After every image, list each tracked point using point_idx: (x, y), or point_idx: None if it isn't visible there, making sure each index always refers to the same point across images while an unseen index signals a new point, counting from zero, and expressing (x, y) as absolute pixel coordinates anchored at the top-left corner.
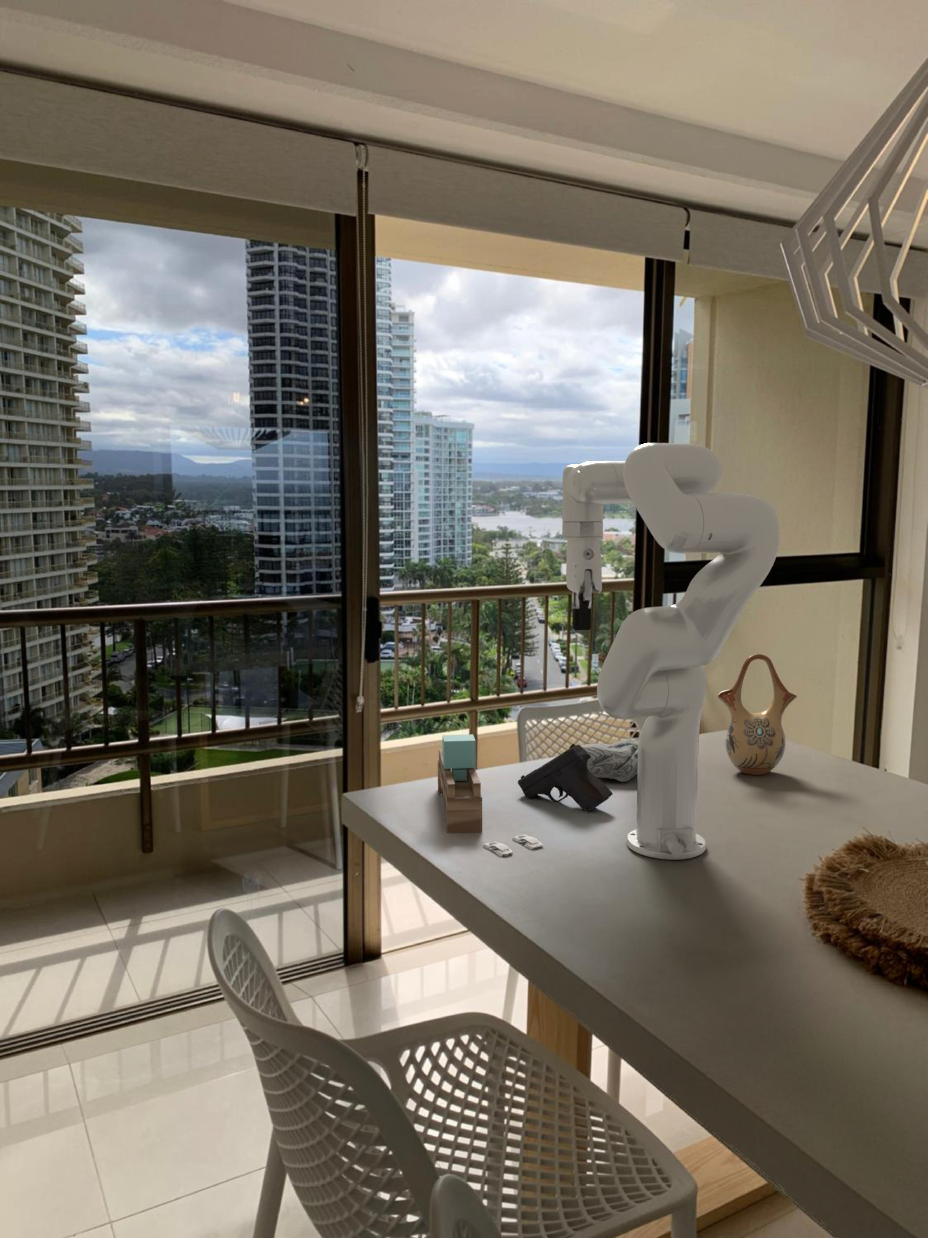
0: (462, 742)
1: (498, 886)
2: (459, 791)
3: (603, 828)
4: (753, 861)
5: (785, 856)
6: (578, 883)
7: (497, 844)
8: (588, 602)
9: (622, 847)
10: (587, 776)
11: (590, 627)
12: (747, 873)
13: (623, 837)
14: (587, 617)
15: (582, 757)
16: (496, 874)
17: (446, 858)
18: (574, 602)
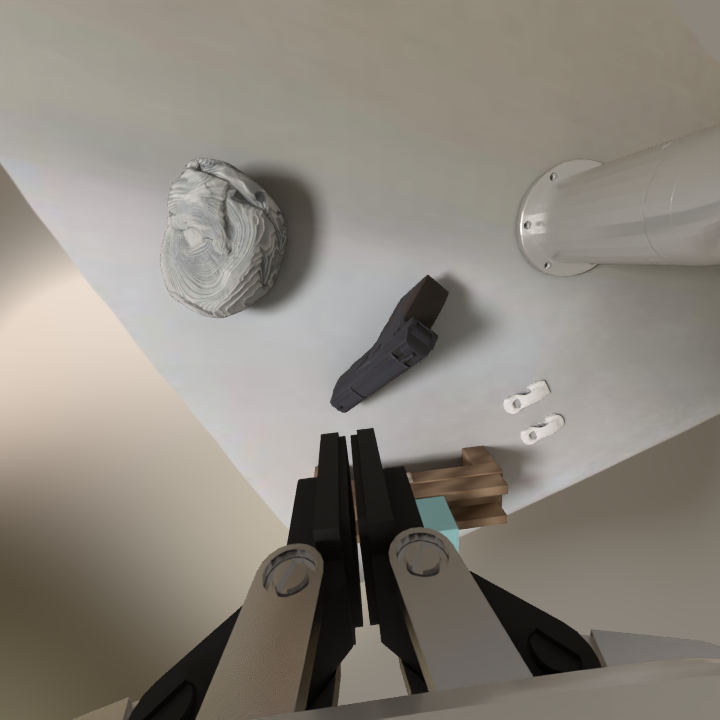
0: (458, 544)
1: (634, 427)
2: (472, 498)
3: (488, 297)
4: (642, 100)
5: (637, 36)
6: (648, 349)
7: (547, 432)
8: (540, 617)
9: (558, 282)
10: (422, 319)
11: (374, 433)
12: (676, 126)
13: (525, 275)
14: (413, 497)
15: (429, 335)
16: (605, 429)
17: (554, 477)
18: (336, 697)
